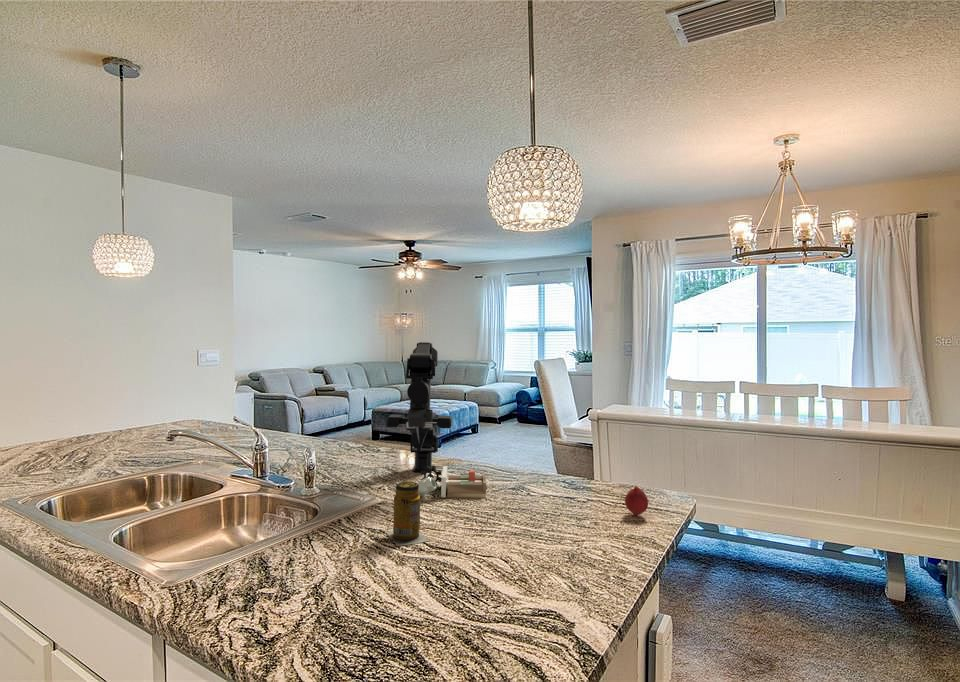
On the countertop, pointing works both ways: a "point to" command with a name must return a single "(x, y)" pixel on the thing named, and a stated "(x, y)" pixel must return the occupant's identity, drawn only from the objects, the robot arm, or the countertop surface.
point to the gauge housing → (466, 486)
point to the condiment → (406, 515)
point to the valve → (428, 481)
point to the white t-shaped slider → (445, 482)
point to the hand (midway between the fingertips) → (419, 450)
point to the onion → (636, 501)
